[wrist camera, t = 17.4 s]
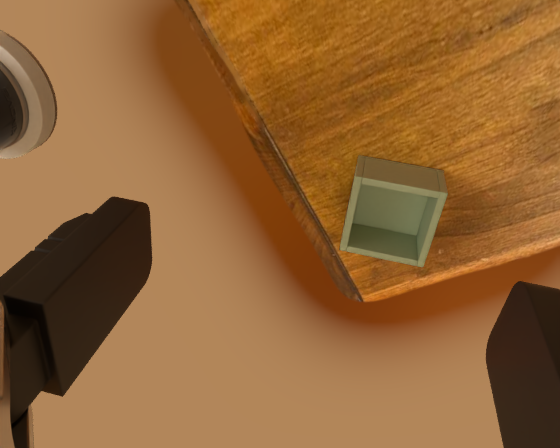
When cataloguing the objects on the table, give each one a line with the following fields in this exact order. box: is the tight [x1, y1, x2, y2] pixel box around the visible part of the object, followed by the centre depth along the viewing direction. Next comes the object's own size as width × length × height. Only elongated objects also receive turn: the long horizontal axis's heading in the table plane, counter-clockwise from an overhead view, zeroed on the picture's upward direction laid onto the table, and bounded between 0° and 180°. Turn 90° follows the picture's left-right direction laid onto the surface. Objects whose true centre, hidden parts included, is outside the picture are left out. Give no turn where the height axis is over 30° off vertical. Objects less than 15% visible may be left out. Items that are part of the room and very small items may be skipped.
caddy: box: [339, 155, 448, 267], centre depth 40 cm, size 7×7×4 cm
